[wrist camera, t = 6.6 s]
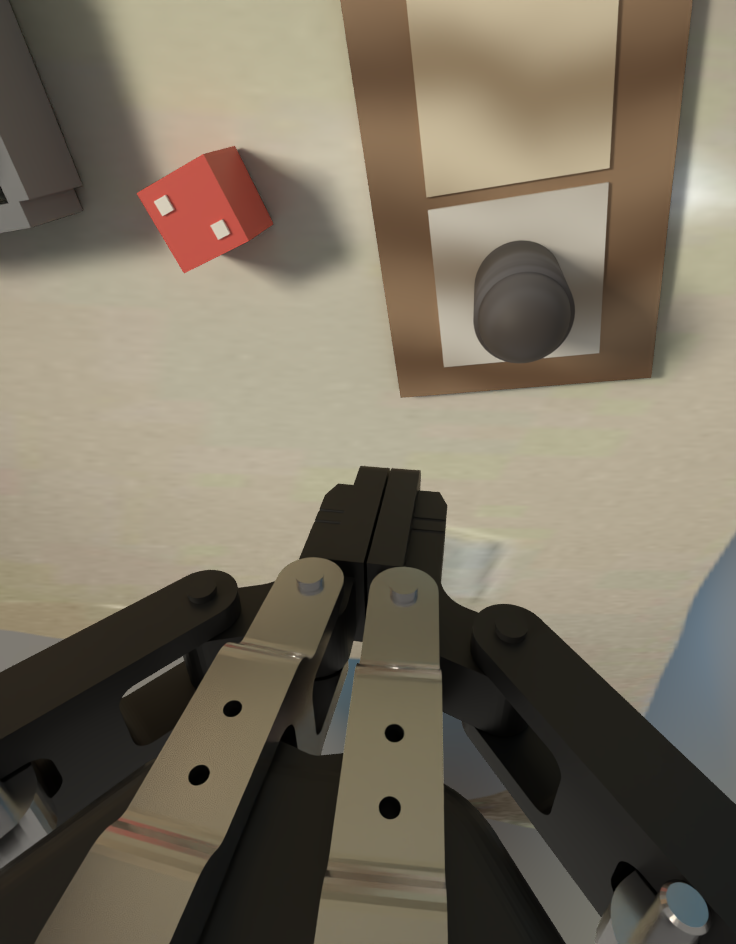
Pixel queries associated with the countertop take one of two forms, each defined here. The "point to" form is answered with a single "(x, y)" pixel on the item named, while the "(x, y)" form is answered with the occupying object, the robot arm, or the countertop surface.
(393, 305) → the game board
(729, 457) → the countertop surface
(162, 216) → the red die
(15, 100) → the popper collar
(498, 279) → the dark grey capsule
